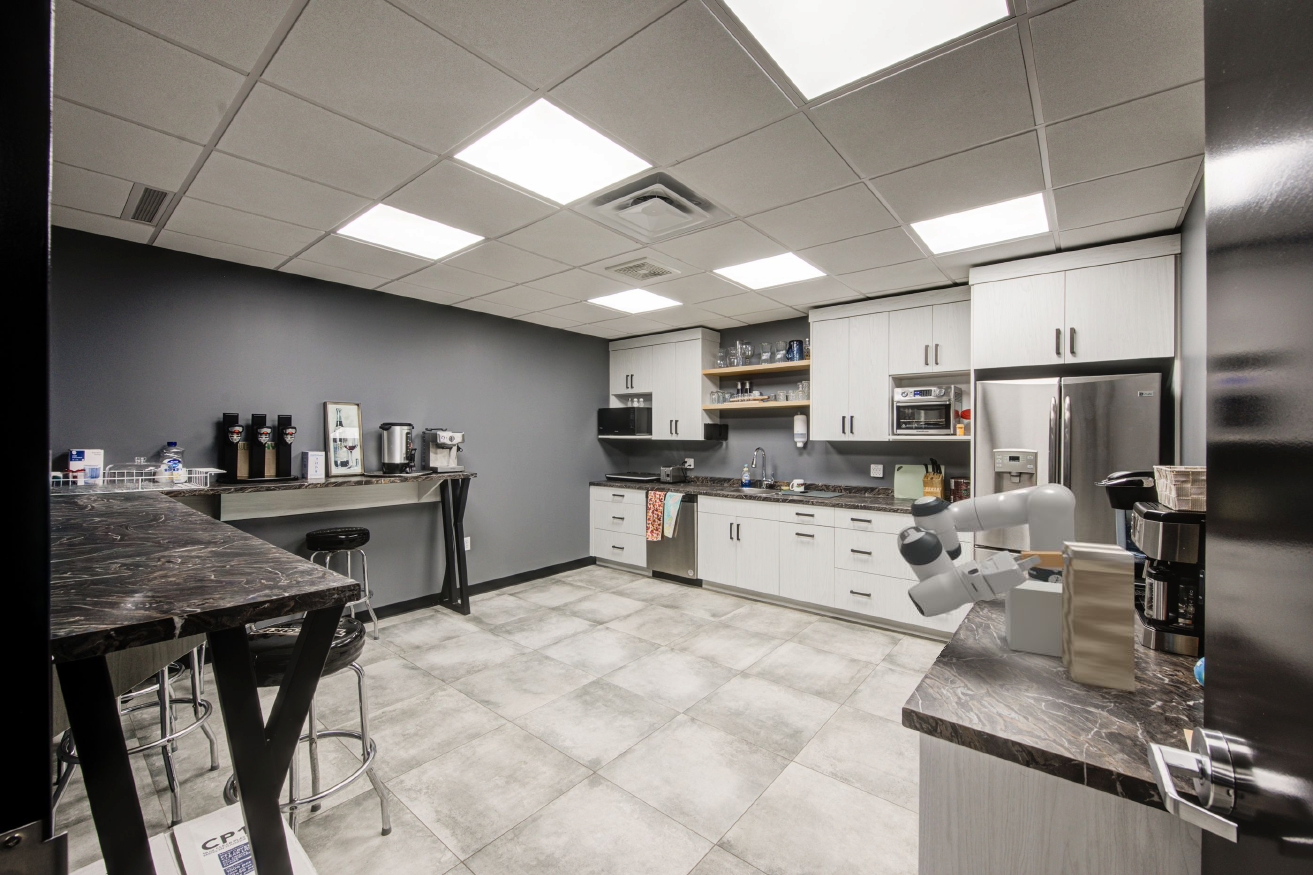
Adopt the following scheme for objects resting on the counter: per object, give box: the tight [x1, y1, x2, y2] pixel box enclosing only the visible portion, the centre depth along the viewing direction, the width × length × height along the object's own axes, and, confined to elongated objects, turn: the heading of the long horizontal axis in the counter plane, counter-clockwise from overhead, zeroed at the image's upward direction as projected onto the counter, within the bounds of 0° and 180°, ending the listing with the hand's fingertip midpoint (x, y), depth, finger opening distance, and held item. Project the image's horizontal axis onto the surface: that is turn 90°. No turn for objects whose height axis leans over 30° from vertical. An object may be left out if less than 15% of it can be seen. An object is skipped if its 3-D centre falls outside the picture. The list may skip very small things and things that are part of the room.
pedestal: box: [1004, 580, 1062, 658], centre depth 135 cm, size 10×14×16 cm
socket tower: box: [1061, 541, 1136, 693], centre depth 119 cm, size 12×10×28 cm
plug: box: [1020, 550, 1070, 568], centre depth 122 cm, size 3×13×3 cm, turn 63°
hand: (1037, 555), depth 124 cm, fingers closed on plug, 3 cm apart
